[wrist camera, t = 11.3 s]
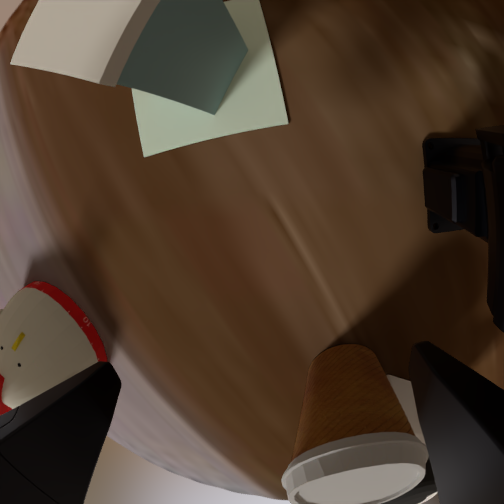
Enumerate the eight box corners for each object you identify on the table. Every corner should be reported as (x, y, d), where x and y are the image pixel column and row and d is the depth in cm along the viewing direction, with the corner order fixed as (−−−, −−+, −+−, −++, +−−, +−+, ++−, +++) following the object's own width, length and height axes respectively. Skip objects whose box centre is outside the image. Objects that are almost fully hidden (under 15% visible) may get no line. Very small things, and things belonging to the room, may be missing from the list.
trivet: (257, -4, 13) (257, -6, 13) (288, 123, 17) (288, 123, 17) (126, 37, 15) (125, 37, 15) (145, 157, 19) (144, 157, 18)
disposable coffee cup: (272, 349, 23) (253, 480, 12) (385, 310, 20) (436, 437, 9) (309, 413, 25) (306, 519, 14) (400, 385, 23) (429, 489, 12)
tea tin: (250, 49, 15) (189, -64, 4) (215, 117, 17) (99, 83, 6) (182, 29, 15) (74, -54, 4) (149, 92, 17) (9, 64, 5)
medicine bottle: (343, 416, 25) (350, 518, 14) (386, 372, 22) (416, 485, 11) (392, 426, 25) (408, 515, 14) (434, 386, 23) (468, 480, 11)
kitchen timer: (116, 329, 25) (26, 443, 11) (101, 396, 30) (46, 480, 16) (22, 258, 24) (-76, 323, 10) (24, 336, 29) (-40, 399, 15)
